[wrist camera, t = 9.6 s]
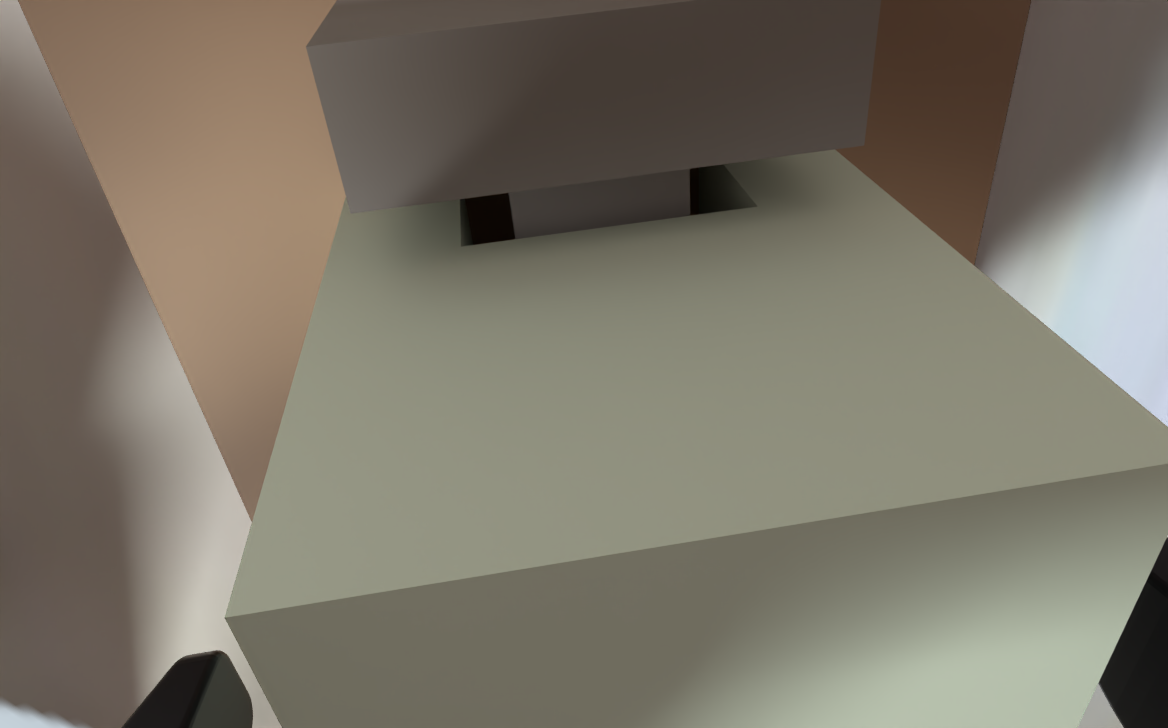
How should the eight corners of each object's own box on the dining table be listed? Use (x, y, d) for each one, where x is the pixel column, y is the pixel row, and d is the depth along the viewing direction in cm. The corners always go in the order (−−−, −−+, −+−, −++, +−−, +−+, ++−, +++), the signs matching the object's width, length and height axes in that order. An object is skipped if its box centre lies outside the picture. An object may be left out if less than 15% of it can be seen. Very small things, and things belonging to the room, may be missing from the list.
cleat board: (858, 622, 20) (953, 807, 16) (368, 707, 19) (348, 922, 15) (991, -145, 11) (1278, -132, 7) (62, -44, 10) (-175, 33, 6)
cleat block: (773, 498, 15) (981, 930, 9) (447, 550, 14) (445, 1038, 9) (800, 120, 11) (1203, 457, 5) (351, 178, 10) (224, 618, 5)
